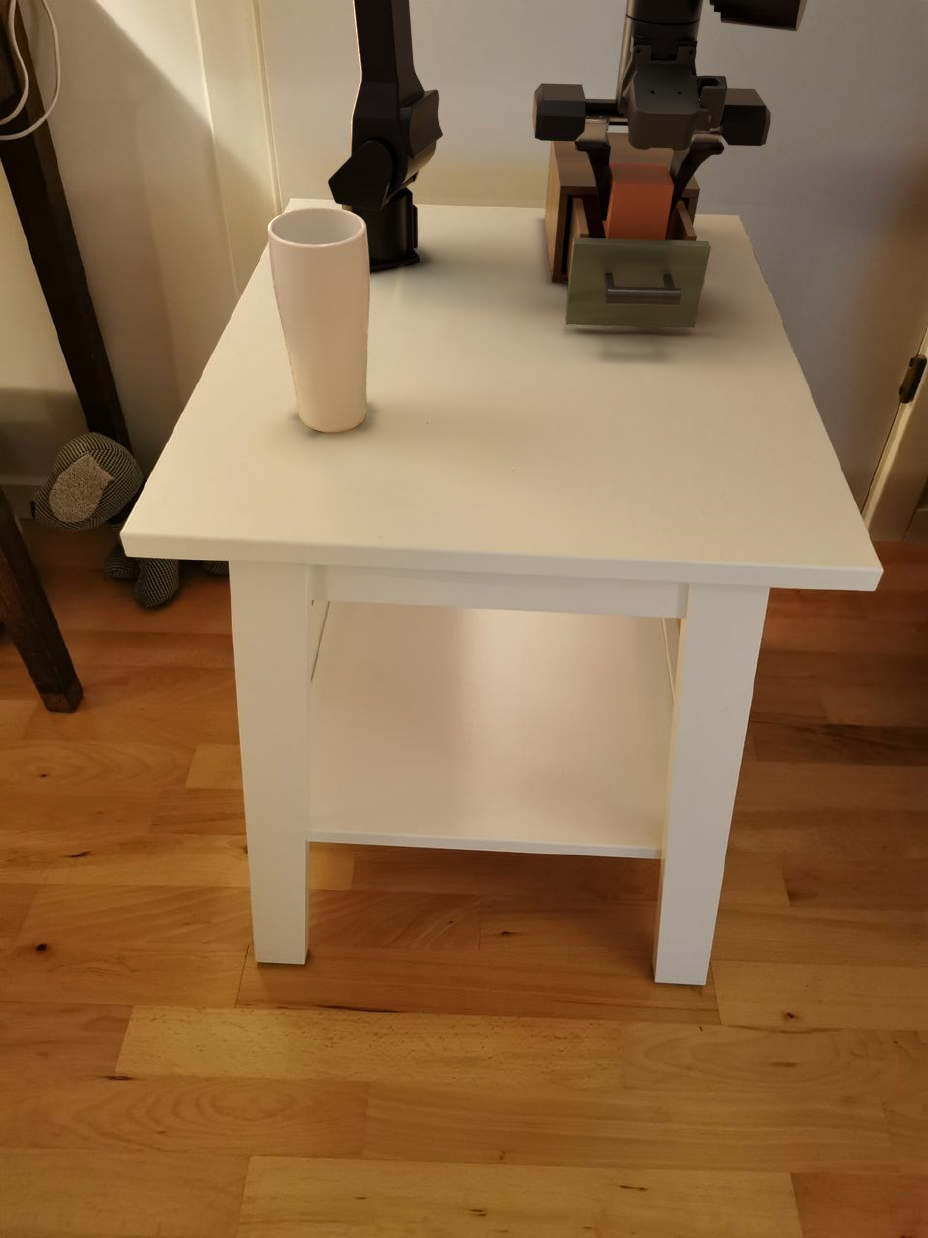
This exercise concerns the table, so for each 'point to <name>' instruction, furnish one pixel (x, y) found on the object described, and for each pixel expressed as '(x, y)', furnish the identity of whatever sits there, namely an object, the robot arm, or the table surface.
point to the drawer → (632, 271)
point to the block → (638, 201)
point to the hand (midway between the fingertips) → (633, 219)
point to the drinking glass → (324, 311)
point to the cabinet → (591, 188)
